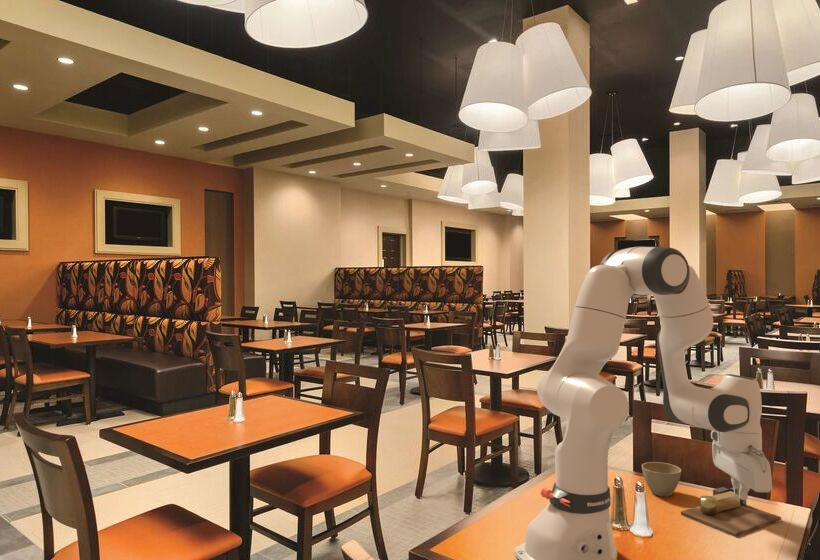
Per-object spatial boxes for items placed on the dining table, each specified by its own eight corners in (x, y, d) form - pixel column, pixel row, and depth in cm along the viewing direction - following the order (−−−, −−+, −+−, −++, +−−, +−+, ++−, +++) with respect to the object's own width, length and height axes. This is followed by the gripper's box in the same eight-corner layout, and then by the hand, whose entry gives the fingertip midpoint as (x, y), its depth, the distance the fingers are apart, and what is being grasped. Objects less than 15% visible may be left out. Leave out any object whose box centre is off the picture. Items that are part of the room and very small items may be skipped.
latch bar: (709, 515, 135) (709, 502, 135) (697, 510, 138) (696, 497, 138) (742, 506, 140) (741, 493, 140) (728, 502, 143) (728, 489, 143)
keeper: (731, 509, 139) (731, 496, 139) (713, 502, 144) (712, 489, 144) (746, 505, 142) (746, 491, 142) (727, 498, 146) (727, 485, 146)
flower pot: (677, 503, 146) (676, 476, 146) (637, 494, 152) (637, 469, 152) (685, 491, 154) (684, 465, 154) (647, 484, 160) (646, 459, 160)
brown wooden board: (735, 536, 126) (735, 533, 126) (680, 514, 139) (680, 511, 139) (781, 520, 134) (781, 517, 134) (725, 500, 147) (725, 497, 147)
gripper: (780, 453, 125) (780, 515, 124) (732, 430, 145) (732, 483, 145) (751, 453, 125) (751, 514, 125) (707, 430, 145) (707, 482, 145)
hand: (740, 497), depth 135 cm, fingers closed
